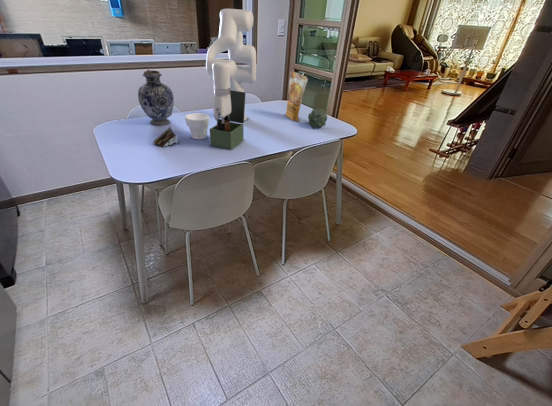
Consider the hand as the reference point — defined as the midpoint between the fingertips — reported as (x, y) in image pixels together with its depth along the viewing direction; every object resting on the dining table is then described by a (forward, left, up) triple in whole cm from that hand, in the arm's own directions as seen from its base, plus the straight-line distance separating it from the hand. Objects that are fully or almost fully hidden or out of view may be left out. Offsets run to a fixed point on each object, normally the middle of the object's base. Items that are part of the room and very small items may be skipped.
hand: (224, 128), depth 144 cm
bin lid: (-2, +11, +8) cm, 14 cm away
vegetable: (+26, +58, -9) cm, 65 cm away
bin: (0, +3, -9) cm, 9 cm away
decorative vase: (-51, +3, -9) cm, 52 cm away
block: (0, 0, -1) cm, 1 cm away
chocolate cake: (-23, -17, -9) cm, 30 cm away
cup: (-18, 0, -9) cm, 20 cm away
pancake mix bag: (+7, +64, -9) cm, 65 cm away
